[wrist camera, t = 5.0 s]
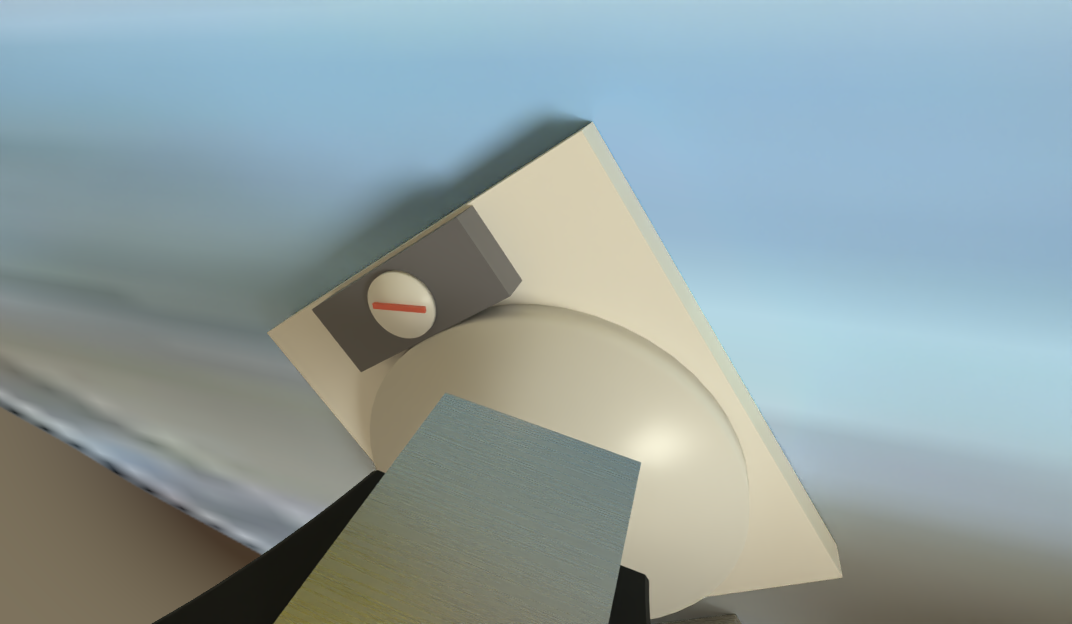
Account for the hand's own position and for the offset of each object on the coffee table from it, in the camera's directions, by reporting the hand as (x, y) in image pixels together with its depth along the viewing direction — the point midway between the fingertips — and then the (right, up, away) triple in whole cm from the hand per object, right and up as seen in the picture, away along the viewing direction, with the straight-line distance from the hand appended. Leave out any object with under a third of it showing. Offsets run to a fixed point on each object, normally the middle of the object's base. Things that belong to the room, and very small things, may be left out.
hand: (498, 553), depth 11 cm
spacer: (0, +1, +1) cm, 2 cm away
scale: (+2, 0, +9) cm, 9 cm away
